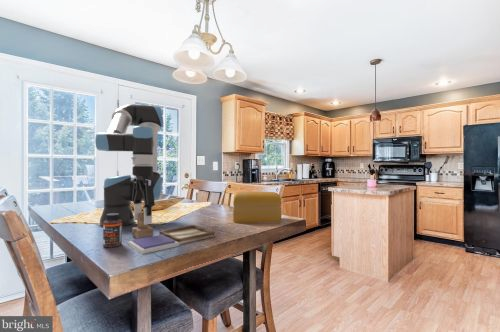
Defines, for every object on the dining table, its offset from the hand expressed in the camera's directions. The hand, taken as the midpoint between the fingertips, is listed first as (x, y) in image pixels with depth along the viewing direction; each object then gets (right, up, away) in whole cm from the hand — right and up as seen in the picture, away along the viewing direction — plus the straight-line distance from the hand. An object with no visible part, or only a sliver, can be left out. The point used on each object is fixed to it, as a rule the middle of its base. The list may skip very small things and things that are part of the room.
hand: (142, 221), depth 104 cm
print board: (+17, -6, +2) cm, 18 cm away
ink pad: (+8, -6, -10) cm, 14 cm away
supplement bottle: (-6, -6, -11) cm, 14 cm away
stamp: (0, -6, 0) cm, 6 cm away
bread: (+46, -7, +33) cm, 57 cm away
